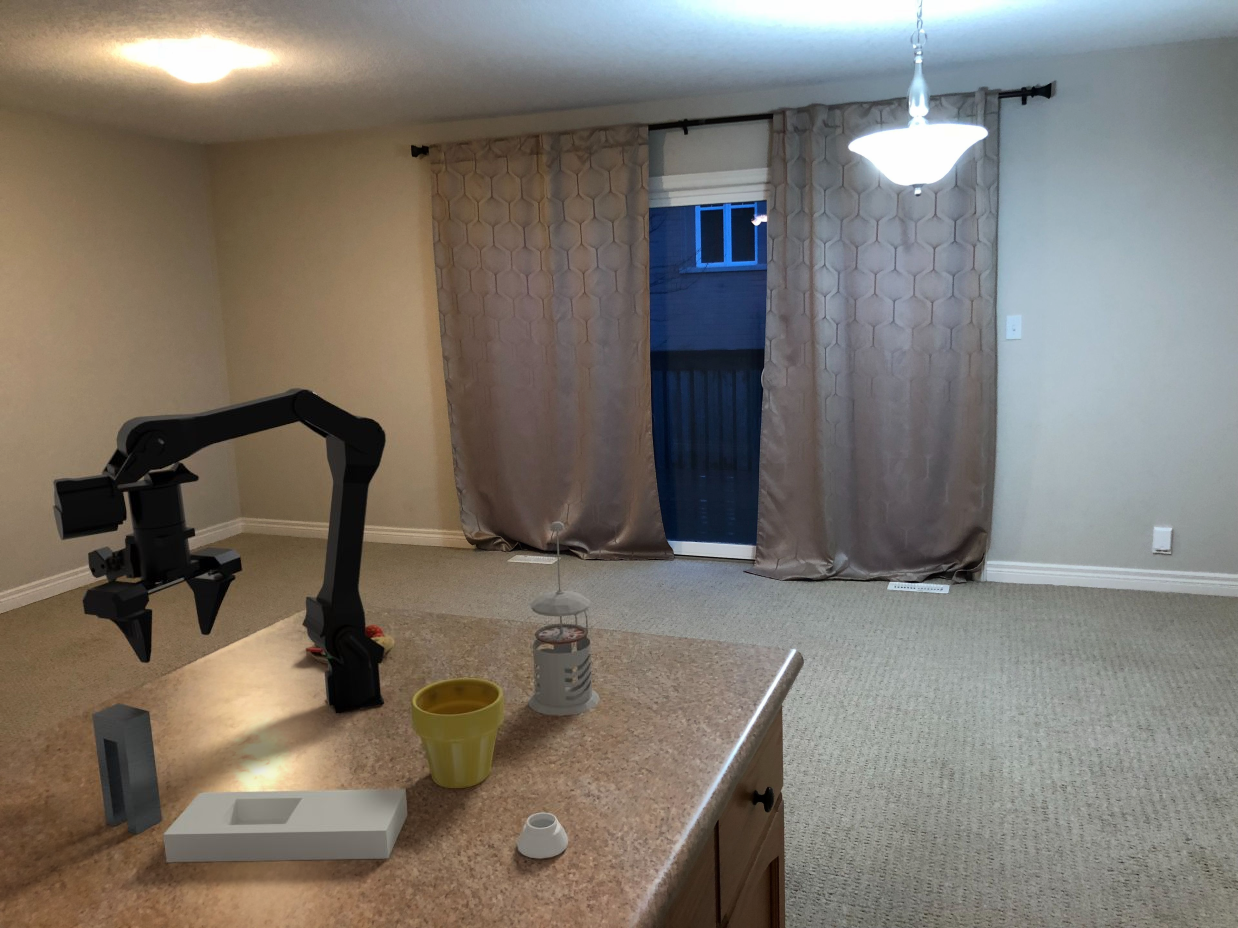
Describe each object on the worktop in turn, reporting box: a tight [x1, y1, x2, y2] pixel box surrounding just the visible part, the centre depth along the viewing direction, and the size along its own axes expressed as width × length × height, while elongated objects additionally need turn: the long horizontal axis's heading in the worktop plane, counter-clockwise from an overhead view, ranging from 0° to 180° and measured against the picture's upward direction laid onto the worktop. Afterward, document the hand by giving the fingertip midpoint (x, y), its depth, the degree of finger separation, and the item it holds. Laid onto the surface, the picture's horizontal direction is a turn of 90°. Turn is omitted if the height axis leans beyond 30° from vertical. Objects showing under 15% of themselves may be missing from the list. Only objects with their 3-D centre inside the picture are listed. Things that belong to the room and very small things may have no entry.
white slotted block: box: [163, 788, 408, 863], centre depth 97 cm, size 8×22×3 cm, turn 89°
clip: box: [91, 702, 163, 835], centre depth 100 cm, size 3×5×12 cm, turn 62°
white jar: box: [516, 812, 569, 860], centre depth 94 cm, size 5×3×5 cm
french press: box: [527, 521, 601, 717], centre depth 127 cm, size 10×12×25 cm
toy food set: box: [305, 624, 395, 665], centre depth 149 cm, size 13×13×3 cm
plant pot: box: [410, 677, 505, 789], centre depth 108 cm, size 10×10×10 cm
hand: (176, 647), depth 115 cm, fingers open, 9 cm apart
